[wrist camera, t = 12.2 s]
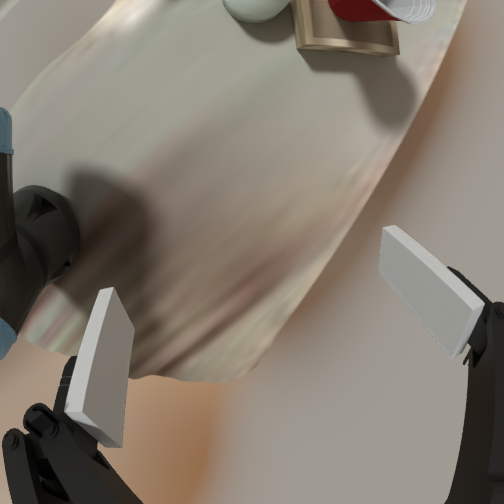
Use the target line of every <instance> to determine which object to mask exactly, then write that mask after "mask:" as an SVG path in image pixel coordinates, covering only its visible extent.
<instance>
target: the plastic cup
mask: <svg viewBox="0 0 504 504" xmlns="http://www.w3.org/2000/svg"><path fill="white" fill-rule="evenodd" d="M328 3H329V5H330V8H331V9H332V10H333V11H334V13H335V14H336V15H338V16H339V17H341V18H342V19H345V20H348V21H352V22H358V21H385V20H390V21H403V22H405V23H409V24H426V23H427V22H429V21H431V20H432V19H434V16H435V13H436V11H437V0H328Z"/></svg>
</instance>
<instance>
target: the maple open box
mask: <svg viewBox="0 0 504 504" xmlns="http://www.w3.org/2000/svg"><path fill="white" fill-rule="evenodd" d="M291 7H292V15H293V23H294V31H295V40H296V49H316V50H334V51H346V52H356V53H364V54H372V55H379V56H392V55H400V51H399V41H398V33H397V25H396V21H390V20H385V21H358V22H352V21H348V20H345V19H342V18H341V17H339V16H338V15H336V14H335V13H334V11H333V10H332V9H331V8H330V5H329V3H328V0H291Z"/></svg>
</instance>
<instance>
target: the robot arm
mask: <svg viewBox="0 0 504 504" xmlns="http://www.w3.org/2000/svg"><path fill="white" fill-rule="evenodd" d="M12 155H14V150H13V149H12V118H11V115H10V114H9V112H8V111H7V110H6V109H4V108H2V107H0V360H2V359H3V358H4V357H5V356H6V354H7V352H8V351H9V349H10V348H11V346H12V344H13V343H15V342H16V340H17V336H18V334H19V332H20V330H21V328H22V326H23V324H24V322H25V320H26V318H27V317H28V315H29V313H30V311H31V309H32V308H33V306H34V304H35V302H36V301H37V299H38V297H39V295H40V294H41V292H42V290H43V289H44V288H45V287H46V286H48V285H49V284H51V283H53V282H54V281H56V280H58V279H59V278H61V277H62V276H64V275H65V274H66V273H67V272H68V271H69V269H70V268H71V266H72V265H73V263H74V261H75V260H76V258H77V255H78V252H79V248H80V233H79V227H78V224H77V221H76V218H75V216H74V214H73V212H72V210H71V209H70V207H69V206H68V204H67V203H66V202H65V201H64V200H63V199H62V198H61V197H60V196H59V195H58V194H57V193H55V192H54V191H52V190H50V189H48V188H46V187H42V186H37V185H31V186H26V187H23V188H21V189H19V190H18V191H16V192H15V193H13V179H12ZM378 273H379V274H380V275H381V277H382V278H383V279H384V280H385V281H386V282H387V283H388V284H389V286H390V287H391V288H392V289H393V290H394V291H395V292H396V293H397V295H398V296H399V297H400V298H401V299H402V300H403V302H404V303H405V304H406V305H407V306H408V307H409V309H410V310H411V311H412V312H413V313H414V314H415V316H416V317H417V318H418V319H419V321H420V322H421V323H422V324H423V325H424V327H425V328H426V329H427V330H428V332H429V333H430V334H431V335H432V337H433V338H434V339H435V340H436V342H437V343H438V344H439V345H440V347H441V348H442V349H443V351H444V352H445V353H446V355H447V356H448V357H449V358H450V359H452V358H454V357H455V356H457V355H459V354H461V353H462V352H463V350H464V348H465V346H466V344H467V343H468V344H469V345H470V346H471V348H470V350H469V352H468V354H467V356H466V357H465V359H464V361H463V365H465V364H466V362H467V360H468V359H469V364H468V366H469V368H468V369H469V370H468V388H467V402H466V411H465V419H464V427H463V433H462V440H461V445H460V451H459V456H458V461H457V465H456V470H455V474H454V478H453V482H452V486H451V489H450V493H449V496H448V498H447V500H446V502H445V503H444V504H504V303H502V302H494V303H492V302H491V301H490V300H489V299H488V298H487V297H486V296H485V295H484V294H483V293H482V292H480V290H478V289H477V288H476V287H475V286H474V285H473V284H471V282H470V281H469V280H468V279H466V278H465V277H464V276H463V275H462V274H461V273H460V272H459V271H457V270H455V269H453V268H451V267H449V266H448V267H445V266H444V265H443V264H442V263H441V262H440V261H438V260H437V259H436V258H435V257H434V256H433V255H431V254H430V253H429V252H428V251H426V250H425V249H424V248H423V247H422V246H420V245H419V244H418V243H417V242H416V241H414V240H413V239H412V238H411V237H409V236H408V235H407V234H405V233H404V232H403V231H402V230H401V229H399V228H398V227H397V226H395V225H392V226H387V227H383V230H382V241H381V252H380V262H379V270H378ZM134 333H135V328H134V326H133V324H132V322H131V321H130V319H129V317H128V315H127V313H126V311H125V309H124V307H123V305H122V303H121V301H120V299H119V297H118V295H117V292H116V290H115V288H114V287H110V288H105V289H101V290H100V291H99V293H98V296H97V299H96V302H95V304H94V307H93V310H92V313H91V316H90V319H89V322H88V325H87V328H86V331H85V334H84V337H83V340H82V343H81V347H80V350H79V353H78V356H71V357H70V359H69V360H68V362H67V363H66V365H65V367H64V370H63V374H62V378H61V381H60V386H59V388H58V392H57V396H56V400H55V404H54V408H53V411H52V410H50V409H49V408H48V407H47V406H46V405H45V404H42V403H36V404H34V405H32V406H31V407H30V408H29V409H28V410H27V411H26V413H25V415H24V419H23V426H24V428H25V429H26V430H27V431H28V432H30V433H29V434H26V435H25V434H24V433H23V432H21V431H20V430H19V429H16V428H13V429H10V430H9V431H7V433H6V434H5V435H4V437H3V441H2V449H3V457H4V464H5V470H6V476H7V481H8V486H9V491H10V495H11V499H12V503H13V504H143V503H142V501H141V500H140V499H139V498H138V497H137V496H136V495H135V494H134V493H133V492H132V491H131V489H130V488H129V487H128V486H127V485H126V484H125V482H124V481H123V480H122V479H121V478H120V476H119V475H118V474H117V473H116V471H115V470H114V469H113V468H112V466H111V465H110V464H109V462H108V461H107V460H106V458H105V457H104V456H103V454H102V453H101V452H100V451H99V450H98V449H97V444H98V442H99V443H100V444H102V445H103V446H104V447H107V448H109V447H110V448H111V447H113V448H120V447H121V448H122V447H123V430H124V416H125V403H126V393H127V385H128V376H129V368H130V360H131V353H132V346H133V339H134Z"/></svg>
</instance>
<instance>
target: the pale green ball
mask: <svg viewBox="0 0 504 504" xmlns="http://www.w3.org/2000/svg"><path fill="white" fill-rule="evenodd" d="M289 1H290V0H223V5H224V7H225V9H226V10H227V12H228V13H229V14H230V15H232V16H233V17H234V18H236V19H238V20H240V21H243V22H247V23H263V22H266V21H269V20H271V19H273V18H274V17H276V16H277V15H278V14H279V13H280V12H281V11H282V10H283V9H284V8H285V7H286V6H287V4H288V3H289Z"/></svg>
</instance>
